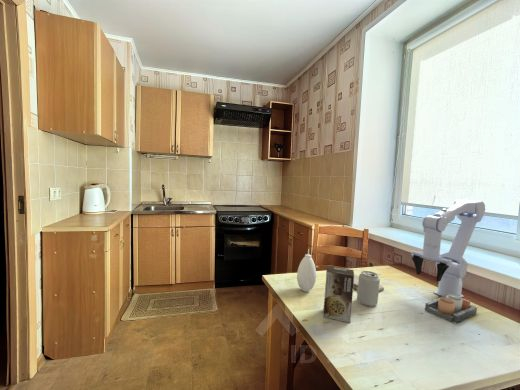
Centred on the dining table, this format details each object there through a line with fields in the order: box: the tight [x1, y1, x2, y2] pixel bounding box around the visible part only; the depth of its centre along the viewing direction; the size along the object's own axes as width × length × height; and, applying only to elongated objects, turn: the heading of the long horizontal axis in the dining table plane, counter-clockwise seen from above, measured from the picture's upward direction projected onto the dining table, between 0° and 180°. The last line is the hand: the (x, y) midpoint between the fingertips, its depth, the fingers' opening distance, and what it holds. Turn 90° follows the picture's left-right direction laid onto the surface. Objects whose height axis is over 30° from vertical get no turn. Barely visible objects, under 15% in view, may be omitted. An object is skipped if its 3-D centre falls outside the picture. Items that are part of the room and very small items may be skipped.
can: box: [356, 270, 381, 308], centre depth 99 cm, size 8×8×12 cm
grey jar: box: [446, 294, 463, 314], centre depth 98 cm, size 5×5×6 cm
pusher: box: [447, 293, 471, 311], centre depth 100 cm, size 2×7×4 cm, turn 30°
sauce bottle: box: [296, 248, 317, 293], centre depth 107 cm, size 8×8×18 cm
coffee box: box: [322, 265, 355, 324], centre depth 88 cm, size 9×6×16 cm
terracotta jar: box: [436, 296, 455, 317], centre depth 95 cm, size 5×5×6 cm
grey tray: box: [424, 296, 478, 324], centre depth 97 cm, size 17×10×2 cm, turn 120°
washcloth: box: [353, 273, 385, 293], centre depth 117 cm, size 12×18×3 cm, turn 34°
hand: (428, 277), depth 106 cm, fingers open, 7 cm apart
